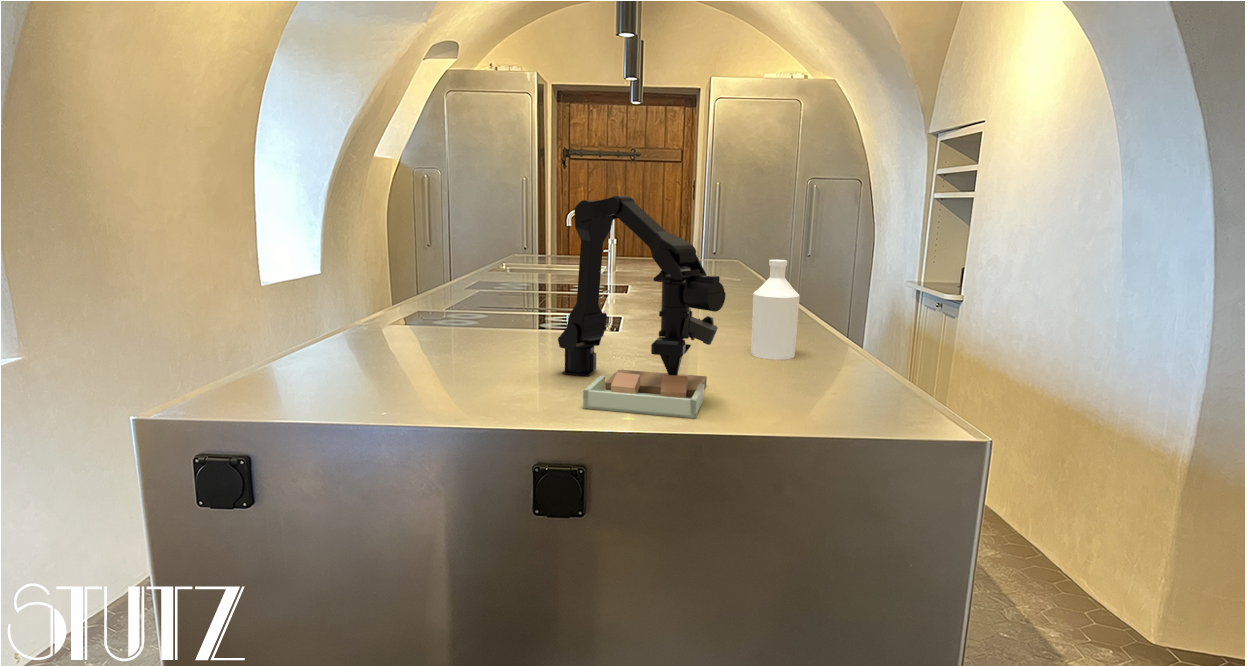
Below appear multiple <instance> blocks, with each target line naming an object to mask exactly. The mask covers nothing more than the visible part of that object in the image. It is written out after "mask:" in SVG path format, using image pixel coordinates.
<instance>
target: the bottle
mask: <svg viewBox="0 0 1250 666" xmlns="http://www.w3.org/2000/svg"><path fill="white" fill-rule="evenodd" d="M768 264H769V277H768V278H767V280H766V281H764V282H763V284H762V285H760V287H759V288H758V289H756V290H755V291H754V292H753V293H752V316H751V317H752V318H751V319H752V320H751V340H750V341H751V342H750V344H751V346H750V348H751V349H750V355H751V356H753V357H756V358H759V359H765V360H774V361H777V360H778V361H779V360H780V361H784V360H791V359H793V358H795V356H796V355H795V353H796V342H797V333H798V332H797V330H798V321H799V320H798V319H799V307H800V296H801V295H800V294H799V293H798V291H796V290H795V289H794V288H793V287H792V285H791V283H789V281H788V280H787V279H786V269H787V268H786V267H787V266H788V260H787V259H769V263H768Z"/></svg>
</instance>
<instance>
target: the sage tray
mask: <svg viewBox="0 0 1250 666" xmlns="http://www.w3.org/2000/svg"><path fill="white" fill-rule="evenodd" d="M605 382H606V375H599V376H598V377H597V378H596V379H595V380H594V381H593V382H592V383H590V384H589V385H588V386H587V387H586V388H585V389H584V390H583V394H582V396H583V398H582V400H583V402H582V406H583V407H582V408H583V409H586V408H587V409H588V410H596V411H597V410H598V411H610V412H621V413H631V414H642V415H652V416H654V415H655V416H663V417H674V418H683V419H684V418H686V419H696V418H697V416H698V413H699V411H700V409H701V407H702V405H703V403H704V399H705V389H704V384H699V385H698V387H697V389H696V391H695V393H694V395H693V396H692V397H686V398H676V397H665V396H661V395H660V394H648V393H637V394H630V393H618V392H611V390H605Z"/></svg>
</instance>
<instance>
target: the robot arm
mask: <svg viewBox="0 0 1250 666" xmlns="http://www.w3.org/2000/svg"><path fill="white" fill-rule="evenodd" d="M616 219H617V220H619V221H621V222H622V224H624V225H625V226H626V228H628V229H629V230H630V231H631V232H632V233H633V234H635V236H636V237H637V238H639V240H640V241H642V242H643V244H645V245H646V246H647V247H648V249H649V250H650V253H651V257H652V259H653V260H654V262H655V264H656V265H657V266H658V267H659V269H660V272H659V273H658V274H657V275H655V277H653V281H654V282H657V283H661V305H660V307H661V308H660V310H659V311H658V312H659V313H658V315H659V317H660V330H659V331H658V337H657V338H656V340H654V341H653V342H652V343H651V345H650V346H651V348H650V349H651V350H650V351H651V352H650V353H651V355H653V356H655V355H656V356H660V358H661V361H662V363H663V365H664V367H665V370H666V373H668V375H676V376H677V375H678V374H679V371H680V366H681V362H682V360H683V357H684V355H685V354H686V353H687V352H688V351H689V349H690V348H691V347H692V344H687V343H686V340H685V339H687V340H688V339H689V338H690V340H691V341H695V339H696V340H698V341H701V342H702V343H703V344H705V345H708V346H711V344H712V342H713V340H714V338H715V336H716V334H717V331H718V326H717V325H715V323H714V322H715V321H714V317H711V316H710V315H705V316H704V318H702V319H701V318H696V317H694V316H693V310H692V309H694V310H702V311H709V312H714V313H715V312H719V311H721V309H722V307H723V306H724V305H725V300H726V291H725V288H724V286H723V284H722V283H721V282H720V276H719V275H707V273H706V271H705V269H704V267H703V265H702V263H701V261H700V259H699V258H698V256H697V249H696V248H695V246H694V245H693V244H692V243H690V242H688V241H687V240H685V239H683V238H682V237H680V236H677V235H674V234H672V233H670V232H668V231H666V229H664V228H663V227H662V226H661V225H660V224H659V223H658V222H657V221H655V219H653V217H651V216H650V215H649V214H648V213H647V212H646V211H645V210H643V209H642V208H641V207H640V205H638V204H637V203H636V202H635V200H634V198H632V197H631V196H628V195H613V196H612V197H608V198H604V199H599V200H597V199H595V200H594V199H593V200H589V199H587V200H585V199H583V200H581V201H579V202H578V203H577V204H576V205H575V208H574V228H575V231H576V233H577V235H578V237H579V239H580V249H579V262H578V263H579V266H578V277H577V279H578V280H577V294H576V303H575V305H574V306H573V308H572V310H571V312H570V313H569V315H568V320H567V325H566V328H565V329H564V331H563V332H562V333H561V334H560V335H559V336H558V338H557V342H558V347H559V348H561V349H564V370H563V371H562V375H569V376H570V375H572V376H584V377H589V376H591V375H592V374H593V373H594V372H596V371H597V352H595V346H596V347H598V346H600V344H601V341H602V339H603V338H602V337H604V335H605V331H607V329H608V328H607V319H608V315H607V313H606V312H603V311H602V309H601V307H600V305H599V301H600V289H601V275H602V265H603V264H602V263H603V251H604V249H603V248H604V241H605V240H606V238H607V237H608V234H609V233H610V231H611V230H612V226H613V221H614V220H616Z"/></svg>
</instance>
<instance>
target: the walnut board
mask: <svg viewBox="0 0 1250 666" xmlns="http://www.w3.org/2000/svg"><path fill="white" fill-rule="evenodd" d="M616 373H628V374H640V381H641V385H640V387H639V390H638V392H637V393H648V394H660V395H661V392H660V391H661V385H662V380H663V375H668V372H655V371H643V370H630V369H618V370H617V371H616V372H615V373H614V374H613V375H611V376H610V377H609V378H608V379H607V381H606V380H605V390H611V384H612V382H613V380H614V378H615V375H616ZM677 376H688V388H687V395H686V397H692V396H693V395H694V393H695V391H696V389H697V387H698V385H699V384H704V390H705V389H706V387H707V383H708V382H707V379H708V378H707V377H708V376H706V375H692V374H681V373H678V375H677Z"/></svg>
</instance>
